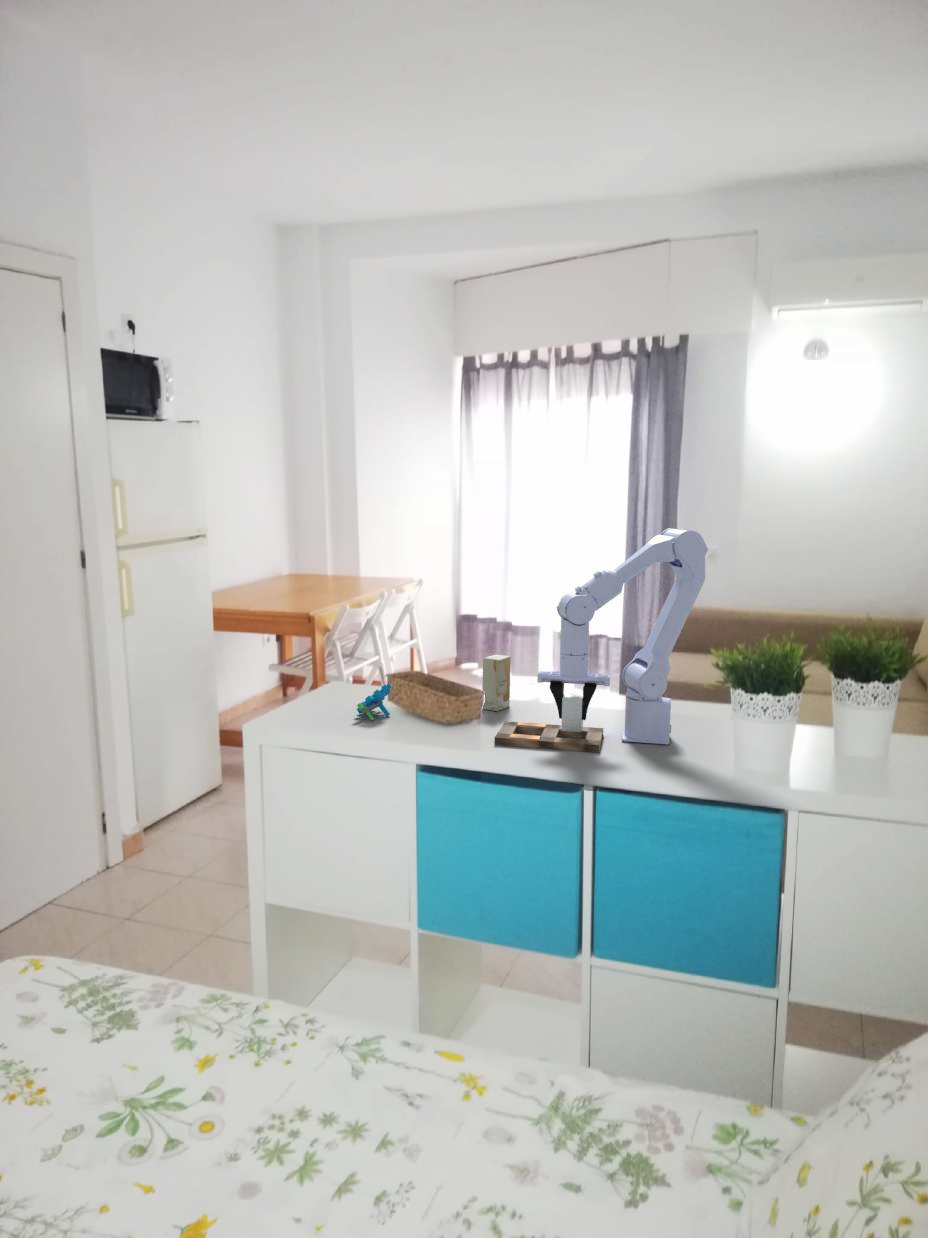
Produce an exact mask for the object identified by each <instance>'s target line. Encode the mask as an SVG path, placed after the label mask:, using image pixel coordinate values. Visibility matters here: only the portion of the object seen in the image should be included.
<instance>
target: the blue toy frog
mask: <svg viewBox="0 0 928 1238" xmlns="http://www.w3.org/2000/svg"><path fill="white" fill-rule="evenodd" d="M390 688H391V685H390V683H388V684H384V685H382V686H381V689H380V690H379V689H378V688H377V689H376V690H375V691H373V693H372V694H371V695H367V697H366V698H365V700H364V701H362V702H359V703H358V704H357V705H356V706H357V708H356V711H357V712H358V714H359V715H362V714H363V715H367V716H368V718H369V719H370V721H372V720H373V721H374V720H375V718H374V717H373V715H372V714H371V713H370V712H371V711H373V710H374V709H377V708H379V709H380V710H381V712H382V713H383V714H384V716H385V717H386V716H387V717H389V716H390V715H391V713H390V712H389V710H388V709H387V708H386V706H385V705H384V702H383V701H384V700H385V699H386V697H387V696H389V695H390V694H389V692H390Z"/></svg>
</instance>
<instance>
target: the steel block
mask: <svg viewBox="0 0 928 1238" xmlns="http://www.w3.org/2000/svg"><path fill="white" fill-rule="evenodd" d="M582 710H583V693H574V692H564V694H563V697H562V719H561V725H562V731H569V732H582V729H583V727H584V720H582Z"/></svg>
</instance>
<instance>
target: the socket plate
mask: <svg viewBox="0 0 928 1238" xmlns="http://www.w3.org/2000/svg"><path fill="white" fill-rule="evenodd" d="M537 734H538V735H537ZM603 737H604V728H603V727H591V726H583V729H582V732H569V731H562V724H550V723H549V724H547V723H543V722H527V721H525V722H524V721H504V722H503V724H502V726H500V728H499V730H498V732H497V733H496V734H495V736H494V745H495V746H508V747H521V748H533V749H534V748H536V749H546V750H559V749H561V751H573V752H574V751H575V752H585V753H586V752H587V753H598V752H599V753H600V750H601V747H600V746H601V745H602V742H603Z"/></svg>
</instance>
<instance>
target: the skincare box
mask: <svg viewBox="0 0 928 1238" xmlns="http://www.w3.org/2000/svg"><path fill="white" fill-rule="evenodd" d="M511 659H512V658H511V656H510V655H503V654H493V655H488V656H487V657H483V658H482V686H481V687H482V688H481V689H482V690H483V691H485V703H484V705H483V709H482V710H488V711H495V712H499V711H501V710H503V709H505V708H506V709H507V708H508V707H510V703H511V701H510V700H509V699H510V698H511V696H510V695H511V694H510V693H511V692H510V691H511V690H510V689H511V688H510V687H511Z"/></svg>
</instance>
